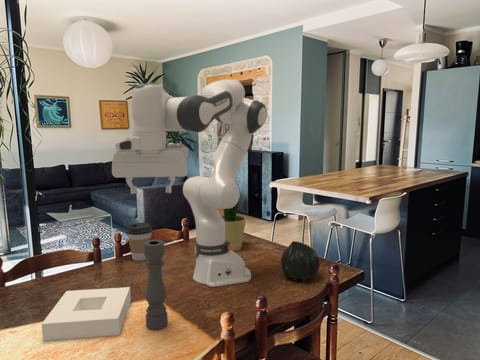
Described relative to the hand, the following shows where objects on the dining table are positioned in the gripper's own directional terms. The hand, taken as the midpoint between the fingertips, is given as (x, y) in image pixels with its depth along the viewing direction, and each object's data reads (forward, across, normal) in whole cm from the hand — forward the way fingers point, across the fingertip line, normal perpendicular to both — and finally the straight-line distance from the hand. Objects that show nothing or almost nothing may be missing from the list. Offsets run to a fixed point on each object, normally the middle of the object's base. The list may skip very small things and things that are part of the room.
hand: (151, 192), depth 100 cm
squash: (+39, -52, -27) cm, 71 cm away
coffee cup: (+40, +12, -57) cm, 70 cm away
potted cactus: (+39, -29, -65) cm, 81 cm away
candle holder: (+40, 0, 0) cm, 40 cm away
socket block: (+40, +20, -6) cm, 45 cm away
